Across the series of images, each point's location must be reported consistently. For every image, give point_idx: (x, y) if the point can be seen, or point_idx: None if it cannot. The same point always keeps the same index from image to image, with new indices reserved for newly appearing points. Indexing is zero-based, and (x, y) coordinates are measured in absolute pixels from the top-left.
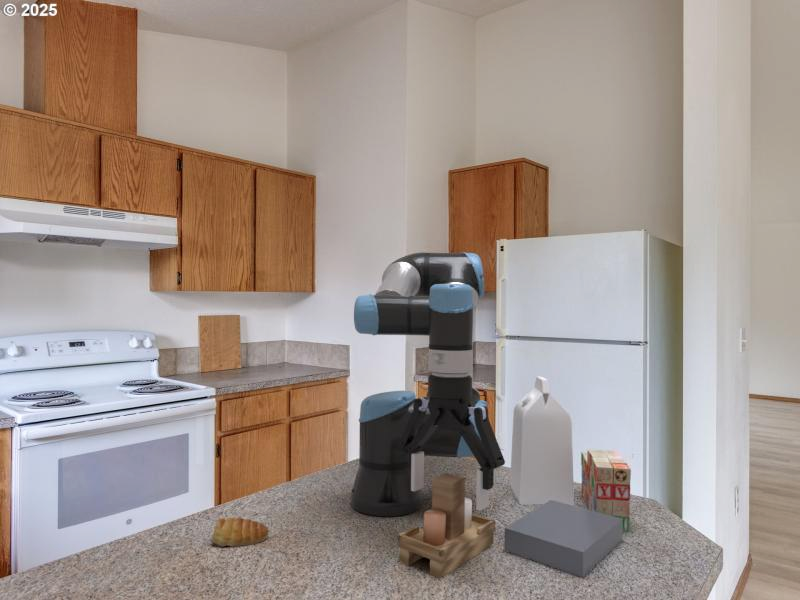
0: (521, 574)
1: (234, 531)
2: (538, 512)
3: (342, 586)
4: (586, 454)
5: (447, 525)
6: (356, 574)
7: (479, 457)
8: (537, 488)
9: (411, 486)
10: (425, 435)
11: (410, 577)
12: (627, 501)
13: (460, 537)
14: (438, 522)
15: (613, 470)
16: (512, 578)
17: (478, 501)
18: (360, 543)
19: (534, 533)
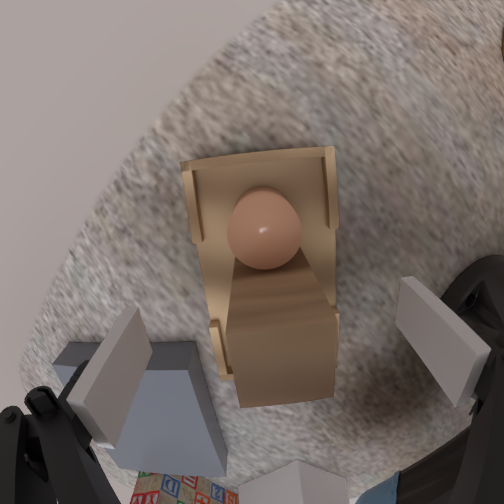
0: (115, 291)
1: None
2: (200, 443)
3: (308, 7)
4: None
5: None
6: (328, 49)
7: (53, 445)
8: (278, 489)
9: (418, 281)
10: (480, 466)
11: (242, 114)
12: (134, 493)
13: (231, 279)
14: (232, 213)
15: None
16: (113, 268)
17: (121, 323)
18: (423, 153)
19: None
